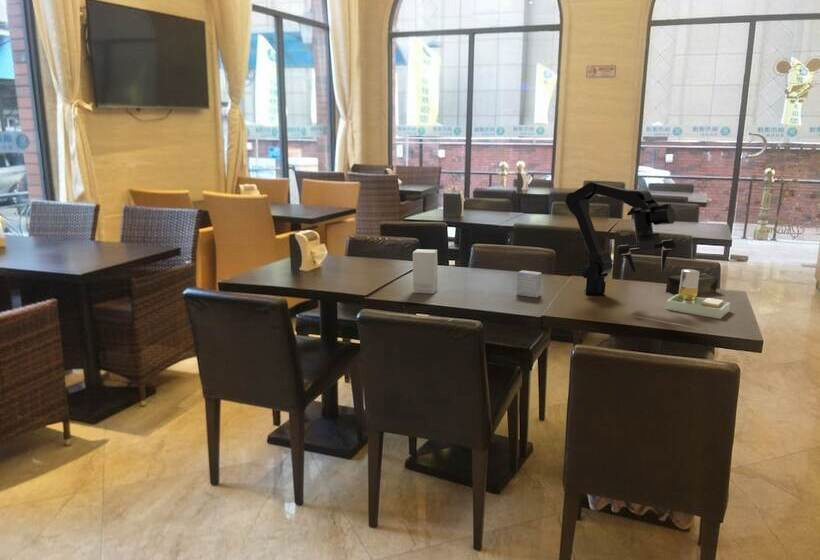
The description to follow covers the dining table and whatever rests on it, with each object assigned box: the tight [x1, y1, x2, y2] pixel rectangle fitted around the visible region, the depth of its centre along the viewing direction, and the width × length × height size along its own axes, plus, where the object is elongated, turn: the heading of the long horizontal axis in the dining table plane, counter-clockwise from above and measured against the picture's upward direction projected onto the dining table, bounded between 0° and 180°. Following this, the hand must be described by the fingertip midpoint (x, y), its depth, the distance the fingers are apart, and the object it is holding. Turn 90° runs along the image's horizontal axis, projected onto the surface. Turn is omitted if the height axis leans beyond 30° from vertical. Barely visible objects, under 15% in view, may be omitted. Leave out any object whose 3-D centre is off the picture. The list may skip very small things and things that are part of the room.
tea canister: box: [678, 268, 701, 305], centre depth 217 cm, size 6×6×13 cm
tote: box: [665, 294, 731, 320], centre depth 216 cm, size 17×11×4 cm, turn 51°
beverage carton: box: [665, 272, 719, 295], centre depth 242 cm, size 8×19×7 cm, turn 116°
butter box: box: [701, 297, 725, 309], centre depth 213 cm, size 5×7×4 cm
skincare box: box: [412, 248, 439, 295], centre depth 237 cm, size 8×7×16 cm
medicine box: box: [516, 270, 543, 299], centre depth 234 cm, size 8×4×9 cm, turn 59°
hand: (648, 271), depth 222 cm, fingers open, 9 cm apart
